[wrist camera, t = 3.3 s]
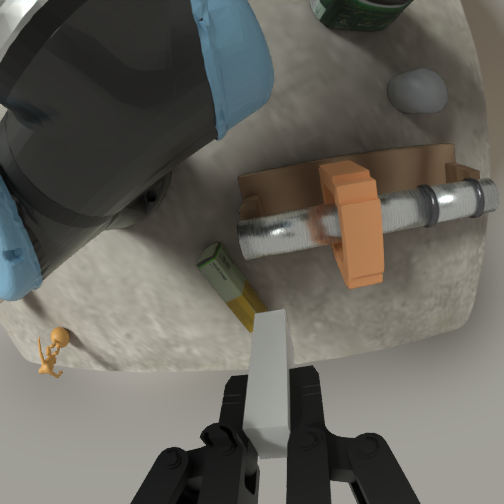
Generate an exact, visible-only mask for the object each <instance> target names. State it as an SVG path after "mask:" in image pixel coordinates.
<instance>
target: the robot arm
mask: <svg viewBox="0 0 504 504" xmlns="http://www.w3.org/2000/svg"><path fill="white" fill-rule="evenodd" d="M273 83H274V70H273V64H272V59H271V56H270V52H269V49H268V46H267V43H266V40H265V37H264V35H263V32H262V30H261V27H260V25H259V23H258V21H257V18H256V16H255V14H254V12H253V10H252V8H251V6H250V4H249V3H248V1H247V0H0V104H2V105H3V106H4V107H6V108H7V109H8V110H7V112H6V113H5V115H4V117H3V118H2V120H1V122H0V299H3V300H6V301H17V300H20V299H21V298H23V297H24V296H25V295H27V294H28V293H29V292H31V291H32V290H33V289H35V290H36V289H38V288H39V287H40V286H41V284H42V282H43V280H44V279H45V278H46V277H47V276H49V275H50V274H51V273H52V272H53V271H54V270H55V269H57V268H58V267H59V266H60V265H61V264H62V263H64V262H65V261H66V260H67V259H68V258H70V257H71V256H72V255H73V254H75V253H76V252H77V251H78V250H79V249H81V248H82V247H83V246H84V245H86V244H87V243H88V242H90V241H91V240H92V239H93V238H95V237H96V236H97V235H99V234H100V233H101V232H102V231H104V230H112V229H120V228H126V227H129V226H132V225H134V224H136V223H138V222H140V221H141V220H143V219H144V218H146V217H147V216H148V215H149V214H150V213H152V212H153V211H154V210H155V209H156V208H157V207H158V205H159V204H160V203H161V201H162V200H163V198H164V196H165V194H166V192H167V189H168V186H169V183H170V178H171V170H172V169H173V168H175V167H176V166H177V165H179V164H180V163H181V162H183V161H184V160H185V159H187V158H188V157H190V156H191V155H192V154H194V153H195V152H197V151H198V150H199V149H201V148H202V147H204V146H205V145H207V144H208V143H210V142H211V141H212V140H214V139H216V140H217V141H219V140H221V139H222V138H223V137H224V136H225V135H226V133H227V131H228V130H229V129H231V128H232V127H233V126H235V125H236V124H238V123H239V122H241V121H242V120H244V119H245V118H247V117H248V116H249V115H251V114H252V113H254V112H255V111H257V110H258V109H260V108H261V107H262V106H263V105H264V104H265V103H266V102H267V101H268V99H269V96H270V94H271V91H272V88H273ZM200 438H201V440H202V441H203V442H204V443H205V444H206V446H204V447H201V448H198V449H194V450H189V451H184V450H183V449H181V448H178V447H171V448H167V449H165V450H164V451H162V452H161V454H160V455H159V456H158V458H157V459H156V461H155V463H154V464H153V466H152V468H151V470H150V471H149V473H148V475H147V476H146V478H145V480H144V482H143V483H142V485H141V487H140V488H139V490H138V492H137V493H136V495H135V497H134V498H133V500H132V502H131V504H258V490H259V476H260V470H259V466H258V465H257V460H258V456H259V457H260V459H268V458H269V459H270V458H283V457H287V495H286V497H287V498H286V504H331V489H330V480H332V481H339V482H348V483H349V485H350V488H351V490H352V492H353V495H354V497H355V499H356V502H357V504H420V502H419V500H418V498H417V496H416V494H415V493H414V491H413V489H412V488H411V485H410V483H409V482H408V480H407V478H406V476H405V475H404V473H403V471H402V469H401V467H400V465H399V464H398V462H397V460H396V458H395V456H394V455H393V453H392V451H391V449H390V448H389V446H388V444H387V442H386V441H385V440H384V438H383V437H382V436H380V435H378V434H376V433H365V434H361V435H359V436H357V437H356V438H346V437H340V436H336V435H334V434H332V433H331V432H329V431H328V429H327V428H326V426H325V421H324V413H323V403H322V395H321V387H320V380H319V373H318V372H317V371H316V369H315V368H314V367H313V366H306V367H299V368H295V366H294V348H293V344H292V339H291V334H290V330H289V325H288V321H287V317H286V312H285V309H281V310H275V311H269V312H263V313H256V314H255V317H254V327H253V336H252V346H251V355H250V365H249V374H248V375H239V376H231V378H230V379H229V381H228V382H227V384H226V385H225V390H224V397H223V402H222V407H221V413H220V419H219V423H213V424H211V425H209V426H207V427H206V428H205V429H204V430H203V431H202V433H201V435H200Z"/></svg>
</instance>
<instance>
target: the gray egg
mask: <svg viewBox="0 0 504 504" xmlns="http://www.w3.org/2000/svg"><path fill="white" fill-rule="evenodd" d="M387 94H388V98H389V100H390V102H391V103H392V105H393V106H394V107H395V108H396V109H397V110H399V111H401V112H404V113H437V112H440V111H441V110H442V109H443V108H444V107H445V105H446V103H447V99H448V93H447V88H446V85H445V83H444V81H443V80H442V78H441V77H440V76H439V75H438V74H437V73H436V72H434V71H433V70H431V69H428V68H420V69H416V70H413V71H409V72H406V73H403V74H400V75H397V76H394V77H393V78H392V79H391V80H390V81H389V83H388V86H387Z"/></svg>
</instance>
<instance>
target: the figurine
mask: <svg viewBox="0 0 504 504" xmlns="http://www.w3.org/2000/svg"><path fill="white" fill-rule="evenodd" d="M51 340H52V342H53V344H52V345H50V346H49V347H47V348H46V355H47V356H48V358H47V359H45V360H44V357H43V354H42V352H41V344H40V337H39V340H38V346H39V354H40V358H41V362H42V366H41V368H40V369H39V373H40V374H44V373H48V374H50V375H53V376H54V377H56V378H59V376H60V375H61V374H62V373H63V372H62V371H60V372H59V374H58V375H57V374H55V373H54V372H53V368H54V365H53V364H55V363H56V358H55V355H58V353H59V351H60V348H63V347H65V346H67V344H68V343H69V334H68V332H67V331H66V330H65V329H64V328H62V327H57V328H55V329H54V330H53V331H52V333H51ZM55 346H56V347H57V351H55V353H53V354H52V355H51V350H50V348H54V347H55Z"/></svg>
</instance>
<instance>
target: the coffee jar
mask: <svg viewBox="0 0 504 504" xmlns="http://www.w3.org/2000/svg"><path fill="white" fill-rule="evenodd" d="M412 1H413V0H310V3H311V7H312V10H313V12H314V14H315V16H316V17H317V19H318V20H319V21H320V22H322V23H323V24H325V25H327V26H329V27H332V28H338V29H345V30H356V31H380V30H384V29H385V28H387V27H388V26H389V25H390V24H391V23H392V22H393V21H394V20H395V19H396V18H397V17H398V16H399V14H400V13H401V12H402V11H403V10H404V9H405V8H406V7H407V6H408V5H409V4H410V3H411V2H412Z"/></svg>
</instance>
